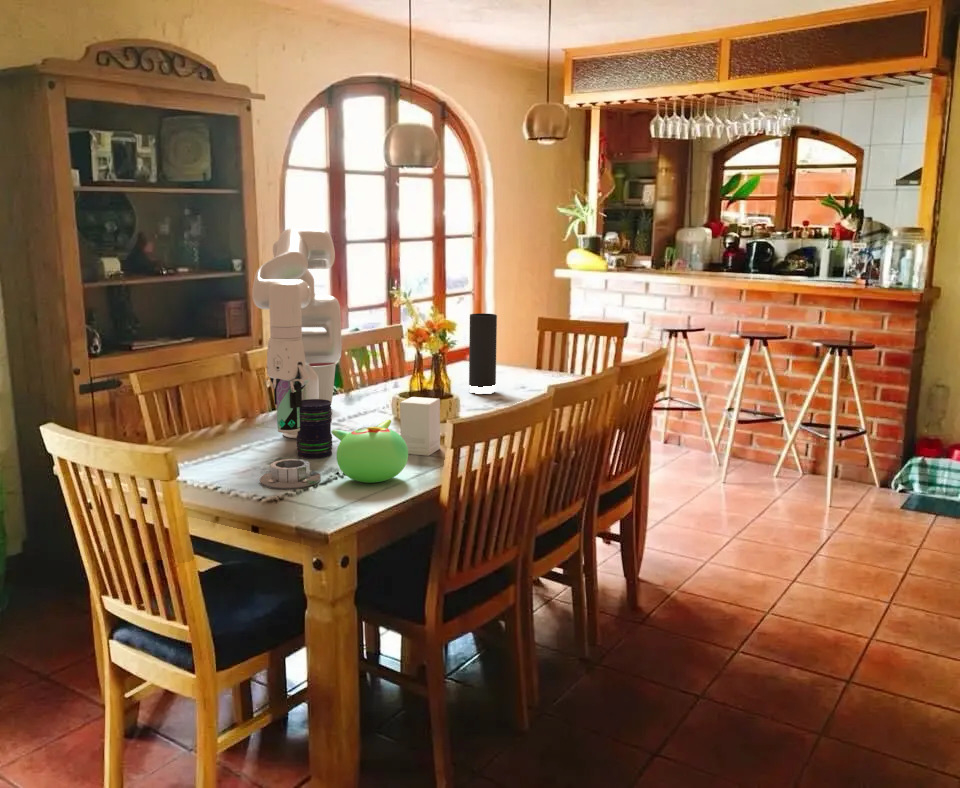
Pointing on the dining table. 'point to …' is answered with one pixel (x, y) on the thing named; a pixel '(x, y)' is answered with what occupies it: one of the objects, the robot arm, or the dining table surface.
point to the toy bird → (371, 453)
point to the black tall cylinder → (482, 349)
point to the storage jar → (315, 429)
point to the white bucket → (325, 379)
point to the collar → (290, 475)
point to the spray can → (286, 408)
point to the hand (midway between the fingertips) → (288, 404)
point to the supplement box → (420, 425)
